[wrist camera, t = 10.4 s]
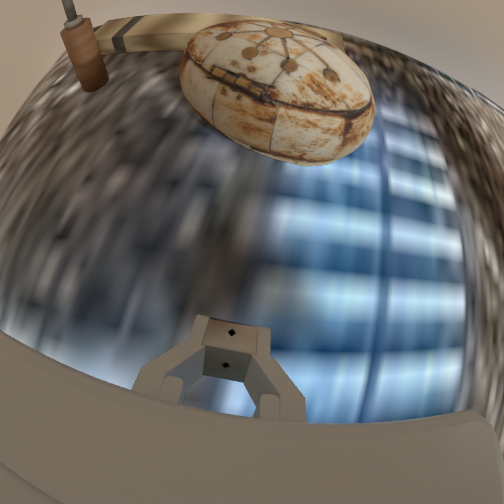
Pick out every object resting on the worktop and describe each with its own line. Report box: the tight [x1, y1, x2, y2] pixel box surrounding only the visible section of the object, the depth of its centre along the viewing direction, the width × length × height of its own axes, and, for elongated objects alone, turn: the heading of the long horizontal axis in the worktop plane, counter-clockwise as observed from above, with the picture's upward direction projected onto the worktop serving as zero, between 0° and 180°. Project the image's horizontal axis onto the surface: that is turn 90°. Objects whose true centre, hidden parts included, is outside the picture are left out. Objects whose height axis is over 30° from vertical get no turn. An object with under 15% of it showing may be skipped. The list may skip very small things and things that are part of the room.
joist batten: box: [94, 13, 345, 55], centre depth 23 cm, size 30×6×2 cm, turn 80°
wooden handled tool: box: [60, 0, 109, 92], centre depth 16 cm, size 3×3×12 cm
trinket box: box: [180, 20, 375, 166], centre depth 18 cm, size 13×15×8 cm
